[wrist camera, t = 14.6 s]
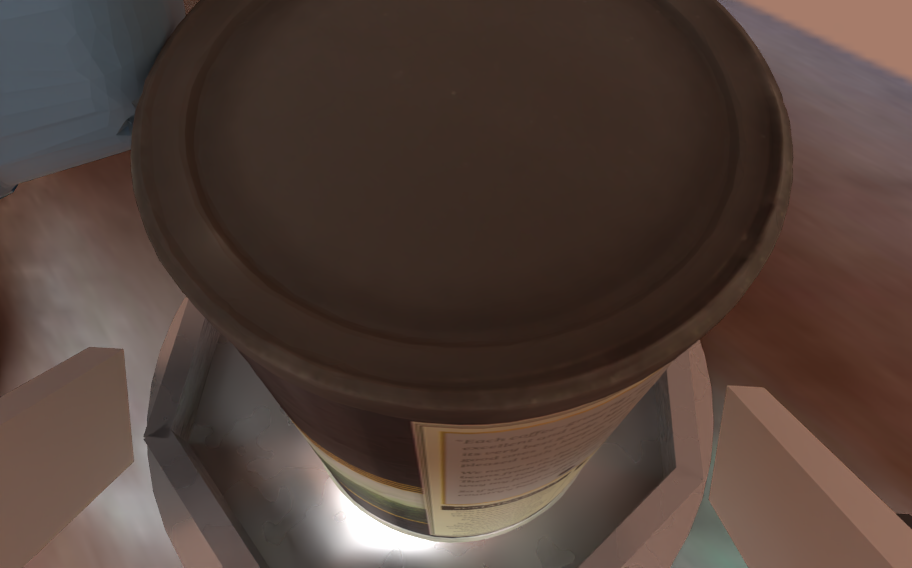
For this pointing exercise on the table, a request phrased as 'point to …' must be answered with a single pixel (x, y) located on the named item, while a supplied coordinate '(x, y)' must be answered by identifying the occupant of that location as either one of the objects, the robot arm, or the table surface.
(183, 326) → the locking base
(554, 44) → the coffee can
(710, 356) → the table surface
